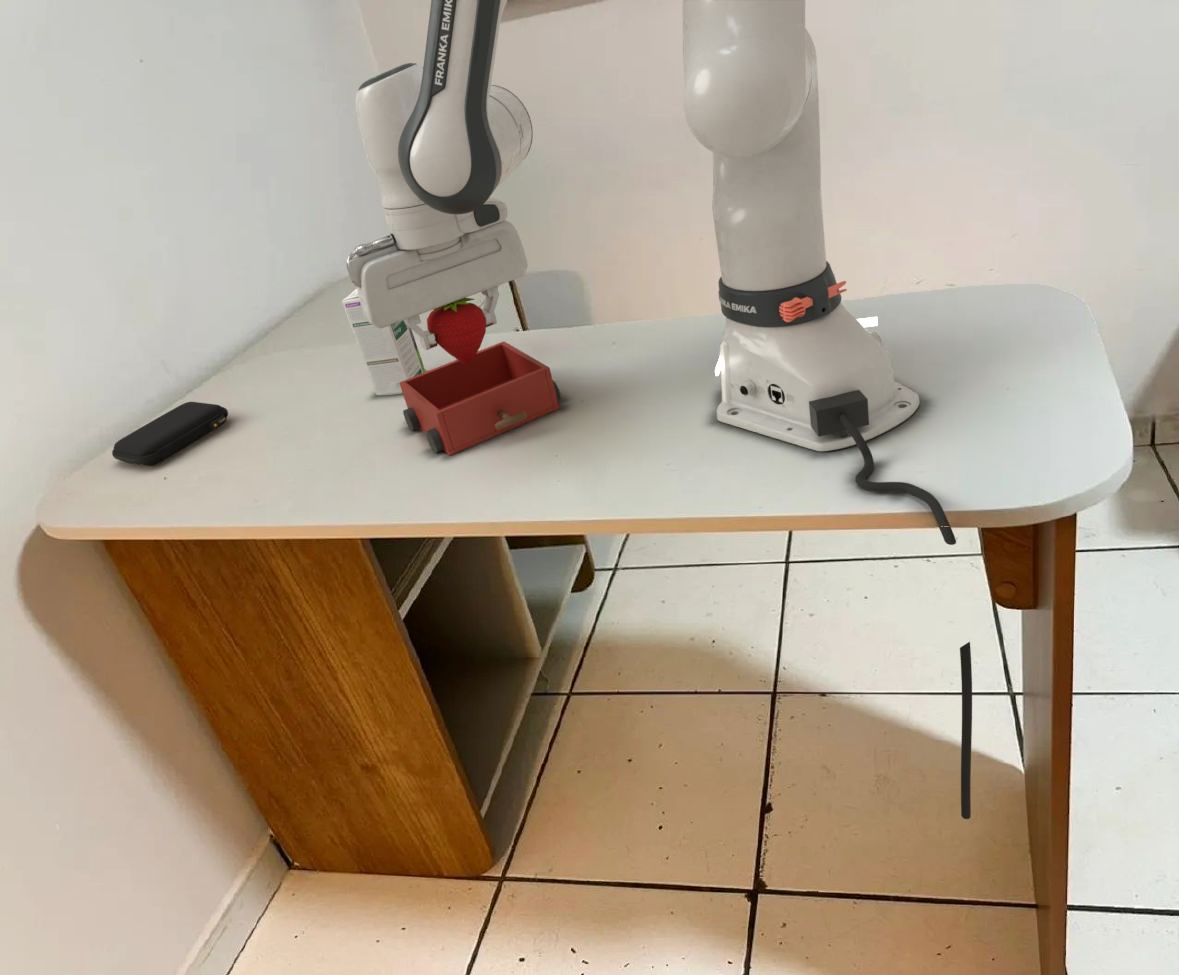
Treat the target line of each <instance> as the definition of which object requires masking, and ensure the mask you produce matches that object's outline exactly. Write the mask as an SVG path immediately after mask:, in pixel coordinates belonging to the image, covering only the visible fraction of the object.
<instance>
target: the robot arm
mask: <svg viewBox="0 0 1179 975" xmlns="http://www.w3.org/2000/svg"><path fill="white" fill-rule="evenodd" d="M507 3H508V0H431V2H430V9H429V18H428V25H427V26H428V27H427V35H426V42H425V51H424V58H423V65H421V64H420V63H415V62H408V63H404V64H401V65H398V66H396V67H393V68H392V69H389V70H387V71H385V72H382V73H380V74H378V75H375V76H373V77H370V78H369V79H367V80H365V81H364V82H362V84H361V85H360V86H359V87H358V90H357V91H356V93H355V101H354V102H355V112H356V113H355V114H356V120H357V124H358V129H359V134H360V137H361V141H362V146H363V149H364V152H365V155H366V159H367V163H368V165H369V168H370V170H371V172H372V173H373V174H374V176H375V178H376V180H377V182H378V186H379V189H380V204H381V207H382V211H383V214H384V217H385V222H386V223H387V227H388V230H389V233H390V234H389V235H386V236H383V237H380V238H377V239H375V240H373V241H371V242H367V243H362V244H359V245H357V246H355V247H354V251H352V252H351V253H350V254H349V255H348V257H347V260H346V270H347V272H348V276H349V279H350V281H351V282H352V284H353V285H354V286H355V287H356V289H358V295H359V300H360V304H361V308H362V312H363V315H364V317H365V319H366V320H367V321H368V322H369V323H371V324H372V325H374V326H376V327H378V328H384V327H387V326H389V325H392V324H395V323H398V322H400V321H403V320H404V323H405V324H406V325H407V326H408V327H409V328H411V330H412V332H413V333H414V334H416V335H417V336H418V339H419V342H420V346H421V347H422V349H424V350H425V351H429V350H431V349H434V348H436V347H438V344H437V342H436V341H435V339H436V338H435V335H434V333H433V332H431V331H430V330H428V329H427V330H425V331H424V330H423V329H422V328H421V327H420V326H418V325H419V324H421V323H422V321H421V317H420V315H422V314H424V313H428V312H431V311H433V310H434V309H436V308H438V307H441V306H444V305H447V304H449V303H452V302H455V301H457V300H460V299H463V298H469V297H471V296H474V295H476V294H479V293H481V294H482V295H484V296H485V297H484V298H485V299H484V303H483V308H482V311H483V313H484V315H485V317H486V328H488V327H491V326H494V325H496V324H497V323H498V321H497V316H496V313H495V310H496V308H497V304H498V299H499V296H500V293H499V289H498V286H500V285H504V284H506V283H509V282H512V281H515V280H517V279H520V278H522V277H524V276H526V273H527V270H528V267H529V265H528V264H529V263H528V258H527V254H526V251H525V248H524V245H523V242H522V239H521V237H520V234H519V232H518V230H517V229H516V226H515V225H514V224H513V223H512V222H510V221H508V220H507V218H508V216H509V212H508V208H507V205H506V203H505V202H504V201H501V200H499V199H497V198H495V197H491V196H492V195H493V193H494V192H495V191H496V189H497V188H498V186H500V185H501V184H503V182H504V181H505V180H507V178H509V177H510V176H511V174H512V173H513V172H515V170H516V169H517V168H519V167H520V165H521V164H522V163H523V161H524V160H525V159H526V157H527V156H528V154H529V153H530V150H531V147H532V143H533V136H534V135H533V132H534V131H533V124H532V120H531V117H530V114H529V112H528V109H527V108H526V106H525V105H524V103H523V102H522V101H521V100H520V98H519V97H518V96H517V95H515V93H513V91H510V90H509V89H508V88H506V87H502V86H500V85H496V84H492V81H493V73H494V67H495V60H496V54H497V48H498V47H497V46H498V40H499V33H500V25H501V21H502V18H503V13H504V10H505V7H506V5H507ZM682 57H683V58H682V60H683V62H682V64H683V80H684V81H683V109H684V117H685V119H686V122H687V125H688V128H689V129H690V131H691V134H692V135H693V136H694V137H695V139H696V140H697V142H699V143H700V144H701V145H702V146H703V147H704V148H706V149H707V150H708V151H710V152H712V201H711V203H712V204H711V205H712V206H711V211H712V216H713V218H712V219H713V224H714V225H713V226H714V232H715V240H716V247H717V255H718V261H719V268H720V270H719V271H720V277H719V279H718V294H717V295H718V300H719V302H720V309H721V314H722V315H723V316H724V317H725V323H724V329H723V334H722V339H721V342H720V346H719V358H718V361H717V363H716V366H715V369H714V374H715V377H718V376H719V375H720V382H721V383H720V384H721V385H720V386H721V402H720V403H719V404H718V406H717V408H716V420H717V421H718V422H721V423H723V424H727V425H730V426H734V427H737V428H740V429H743V430H747V431H750V432H754V433H756V434H760V435H763V436H766V437H770V438H772V439H777V440H779V441H783V442H785V443H789V444H792V445H796V446H798V447H802V448H805V449H808V450H812V451H816V452H829V451H836V450H840V449H841V450H842V449H844V448H848V447H852V446H855V445H856V446H857V448H858V450H859V451H860V453H861V455H862V458H863V463H864V464H863V467H862V469H861V470H860V471H859V472H858V473H857V474H856V475H855V478H854V481H855V484H856V486H858V487H860V488H861V489H862V490H865V491H869V492H879V493H881V492H902V493H906V494H909V495H911V496H913V497H915V498H917V499H920V500H921V501H923V502H924V503H925V504H926V505H928V507H929V509H930V510H931V512H932V514H933V516H934V519H935V521H936V524H937V526H938V528H939V531H940V533H941V536H942V538H943V541H944V542H945V544H947V545H949V546H954V545H956V544H957V538H956V536H955V534H954V531H953V529H952V526H951V525H950V522H949V520H948V517H947V515H946V513H945V511H944V509H943V507H942V505H941V503H940V501H939V500H938V499H937V498H936V497H935V496H934V495H933V494H932V493H931V492H929V491H927V490H926V489H924V488H921V487H920V486H918V485H914V484H912V483H908V482H903V481H870V480H867V478H868V477H869V476H870V475H871V473H873V470H874V467H875V466H874V465H875V464H874V457H873V454H872V452H871V450H870V448H869V445H868V444H867V441H869V440H870V439H873V438H876V437H877V436H880V435H881V434H884V433H886V432H888V431H890V430H891V429H893V428H895V427H897V426H898V425H900V424H902V423H904V422H905V421H906V420H907V419H909V418H910V417H911V416H912V415H913V414H914V413H915V412H916V411H917V409H918V408H919V406H920V403H921V402H920V396H919V394H918V393H916V392H915V391H914V390H912V389H911V388H909V387H907V386H906V385H905V386H904V385H903V384H901V383H900V382H898V381H896V380H895V376H894V370H893V364H892V360H891V357H890V354H889V352H888V351H887V349H886V348H885V347H884V346H883V341H882V339H881V337H880V335H879V334H878V333H877V332H875V331H870V332H869V330H867V329H866V328H869V327H877V326H878V325H879V323H878V322H879V321H878V316H871V317H865V318H864V317H863V318H856V317H855V316H854V315H853V314H852V313H851V312H850V311H849V310H848V308H847V307H846V306H845V305H844V304H843V302H842V294H843V293H845V292H847V291H848V289H847V288H843V289H841V288H842V287H843V286H845V285H846V284H847V281H846V280H843V281H840V282H838V283H837V279H836V275H835V273H834V272H833V270H832V267H831V264H830V263H829V262H828V261H827V253H826V241H825V240H826V238H825V226H824V213H823V212H824V211H823V202H822V200H823V199H822V198H823V197H822V173H821V170H822V167H821V166H822V164H821V133H820V132H821V127H820V102H819V101H820V100H819V99H820V98H819V78H818V60H817V59H818V58H817V52H816V46H815V44H814V41H813V39H812V36H811V34H810V33H809V31H808V29H807V28H806V0H682ZM941 526H943V527H941ZM944 526H949V527H944ZM971 652H972V651H971V641H968V642H967V643H965V644H963V645H962V646H960V647H959V658H960V659H959V660H960V676H961V677H960V678H961V745H960V746H961V747H960V816H961V818H962V819H964V820H969V819H970V818H971V817H972V810H971V783H972V782H971V781H972V780H971V779H972V778H971V776H972V775H971V774H972V773H971V772H972V771H971V770H972V738H973V737H972V736H973V671H972V668H973V667H972V653H971Z"/></svg>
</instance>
